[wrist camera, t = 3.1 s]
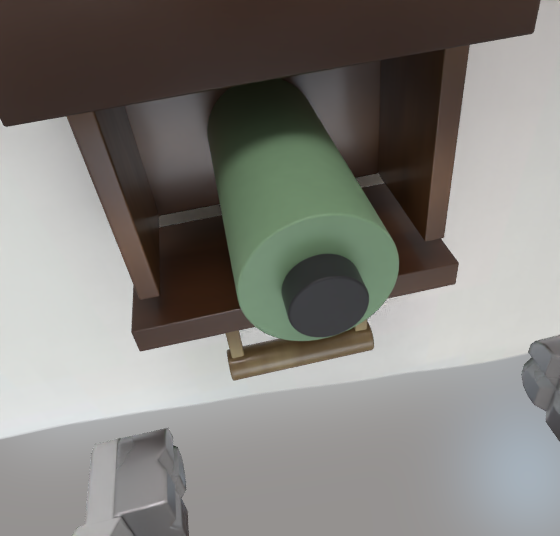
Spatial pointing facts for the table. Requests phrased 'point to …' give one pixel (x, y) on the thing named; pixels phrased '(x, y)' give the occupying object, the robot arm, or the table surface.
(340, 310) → the oil bottle
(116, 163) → the drawer
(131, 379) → the table surface
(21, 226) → the table surface
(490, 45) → the table surface
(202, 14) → the cabinet
